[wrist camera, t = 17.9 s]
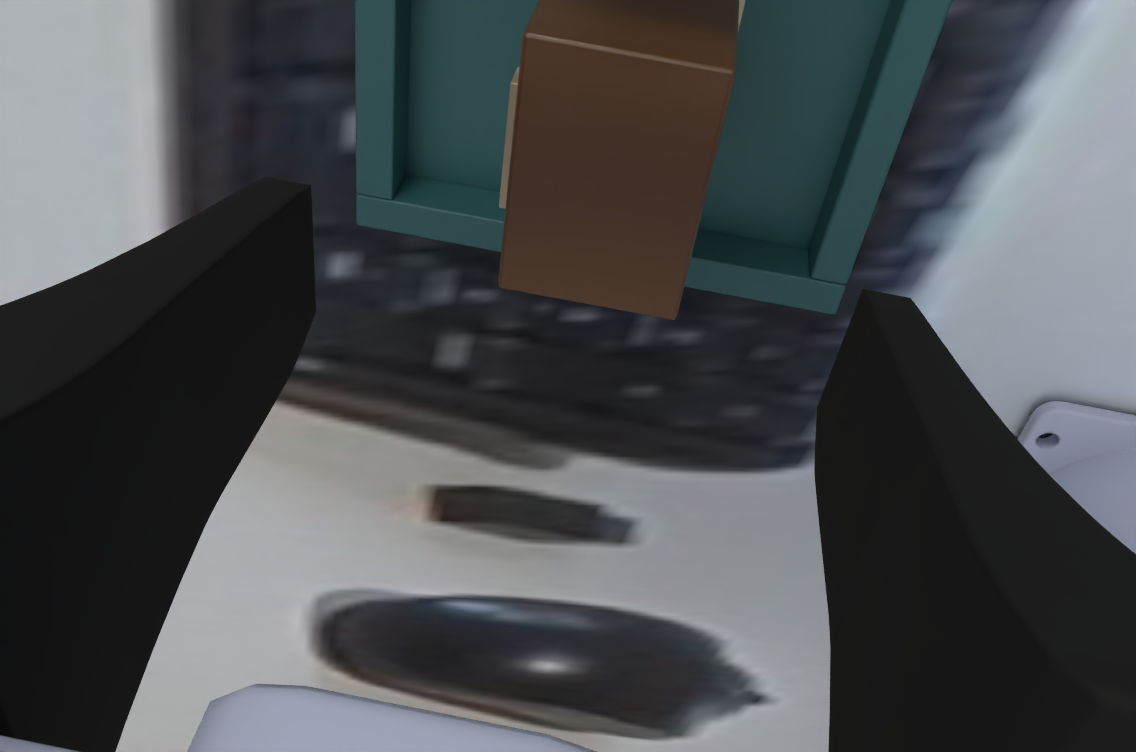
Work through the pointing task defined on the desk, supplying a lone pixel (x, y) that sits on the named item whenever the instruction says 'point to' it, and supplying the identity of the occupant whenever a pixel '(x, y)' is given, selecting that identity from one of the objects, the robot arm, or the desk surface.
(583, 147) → the brown rectangular block
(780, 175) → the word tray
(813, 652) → the desk surface
